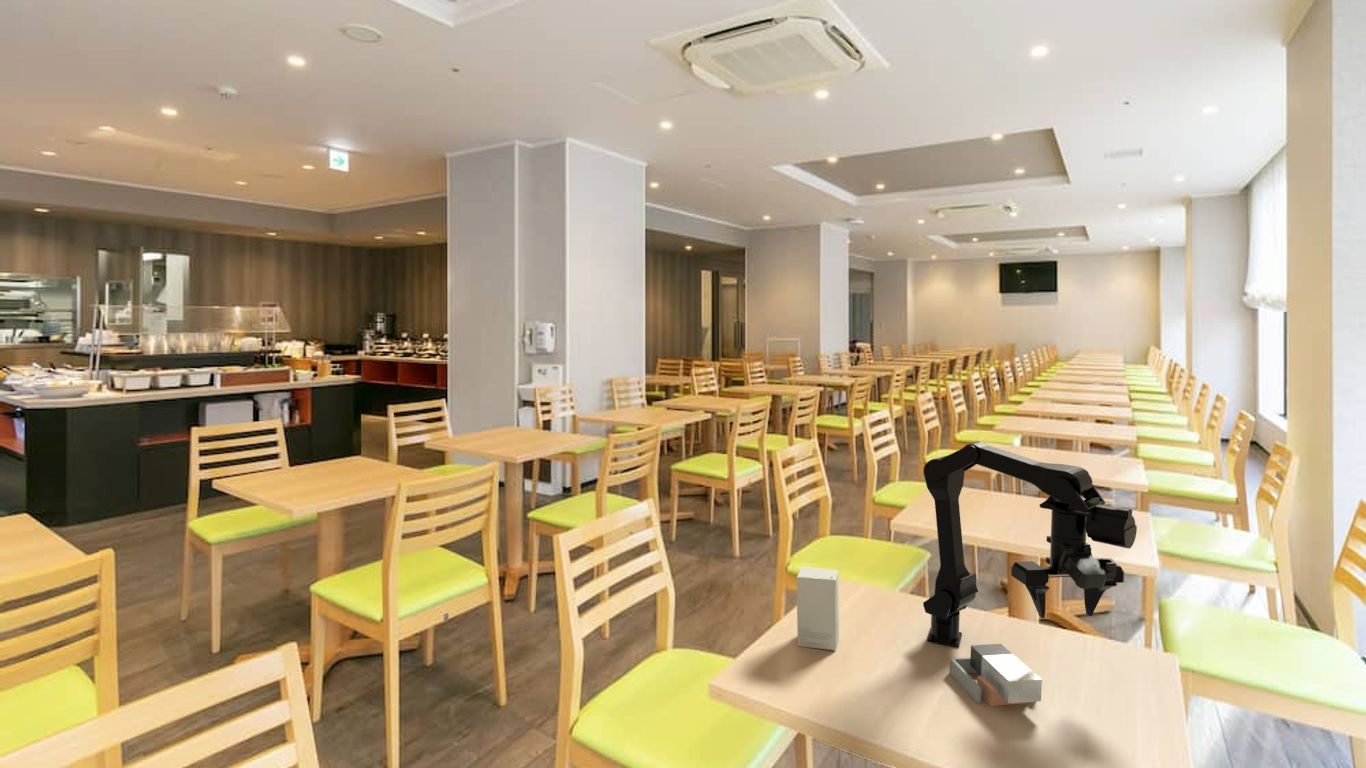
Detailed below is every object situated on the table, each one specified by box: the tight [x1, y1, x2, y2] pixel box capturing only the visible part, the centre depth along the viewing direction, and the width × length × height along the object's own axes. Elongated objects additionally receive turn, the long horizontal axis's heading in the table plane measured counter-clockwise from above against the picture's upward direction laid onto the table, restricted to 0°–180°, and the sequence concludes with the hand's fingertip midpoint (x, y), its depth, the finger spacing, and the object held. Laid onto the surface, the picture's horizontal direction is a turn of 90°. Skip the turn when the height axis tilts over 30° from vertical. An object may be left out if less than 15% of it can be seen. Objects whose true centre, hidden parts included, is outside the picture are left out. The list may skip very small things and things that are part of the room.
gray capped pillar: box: [969, 643, 1043, 703], centre depth 127 cm, size 4×6×13 cm
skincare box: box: [796, 565, 840, 651], centre depth 148 cm, size 8×7×16 cm
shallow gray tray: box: [949, 656, 982, 705], centre depth 132 cm, size 11×11×3 cm
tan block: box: [976, 675, 1029, 707], centre depth 128 cm, size 5×7×3 cm
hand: (1065, 616), depth 131 cm, fingers open, 9 cm apart
